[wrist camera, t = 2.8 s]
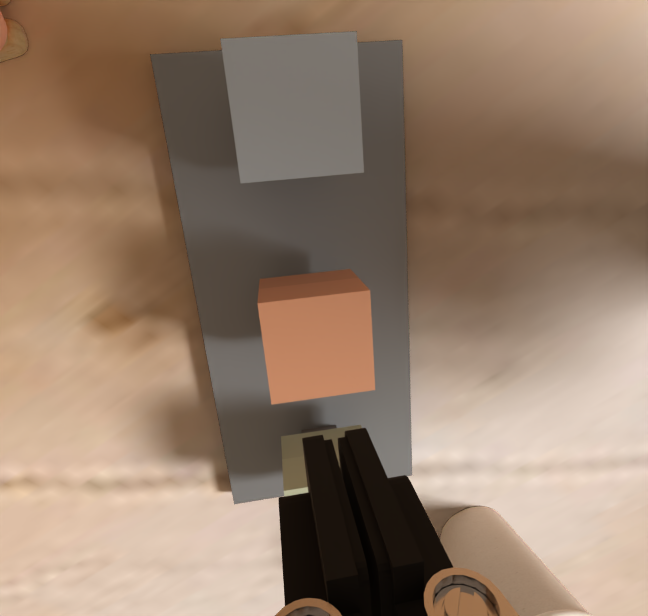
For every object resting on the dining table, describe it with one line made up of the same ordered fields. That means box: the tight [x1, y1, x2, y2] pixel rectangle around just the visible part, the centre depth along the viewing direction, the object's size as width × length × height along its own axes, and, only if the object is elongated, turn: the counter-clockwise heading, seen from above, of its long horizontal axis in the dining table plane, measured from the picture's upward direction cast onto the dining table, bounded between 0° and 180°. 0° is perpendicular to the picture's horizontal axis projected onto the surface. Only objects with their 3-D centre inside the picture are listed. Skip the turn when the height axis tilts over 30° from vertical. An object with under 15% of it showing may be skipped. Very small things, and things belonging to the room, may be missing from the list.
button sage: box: [281, 425, 362, 497], centre depth 24 cm, size 5×5×5 cm
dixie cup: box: [440, 506, 593, 616], centre depth 30 cm, size 8×8×10 cm
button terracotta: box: [257, 269, 375, 404], centre depth 21 cm, size 5×5×5 cm
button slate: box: [220, 31, 364, 183], centre depth 18 cm, size 5×5×5 cm
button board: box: [150, 40, 412, 504], centre depth 25 cm, size 13×28×3 cm, turn 5°
